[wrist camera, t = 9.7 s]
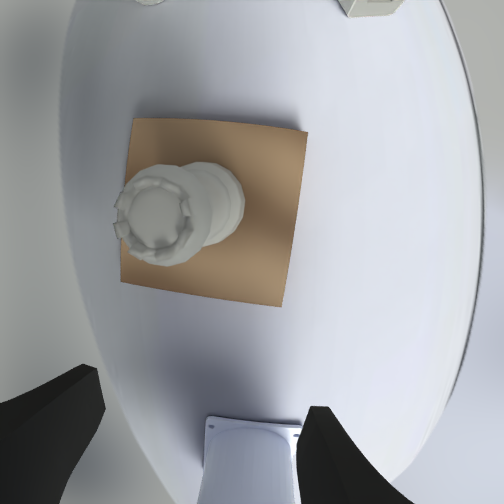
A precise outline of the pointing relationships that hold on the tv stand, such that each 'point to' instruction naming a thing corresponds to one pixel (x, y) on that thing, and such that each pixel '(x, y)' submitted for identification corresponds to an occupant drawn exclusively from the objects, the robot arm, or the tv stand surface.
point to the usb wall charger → (370, 7)
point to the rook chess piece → (178, 211)
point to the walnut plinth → (255, 210)
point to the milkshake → (149, 2)
